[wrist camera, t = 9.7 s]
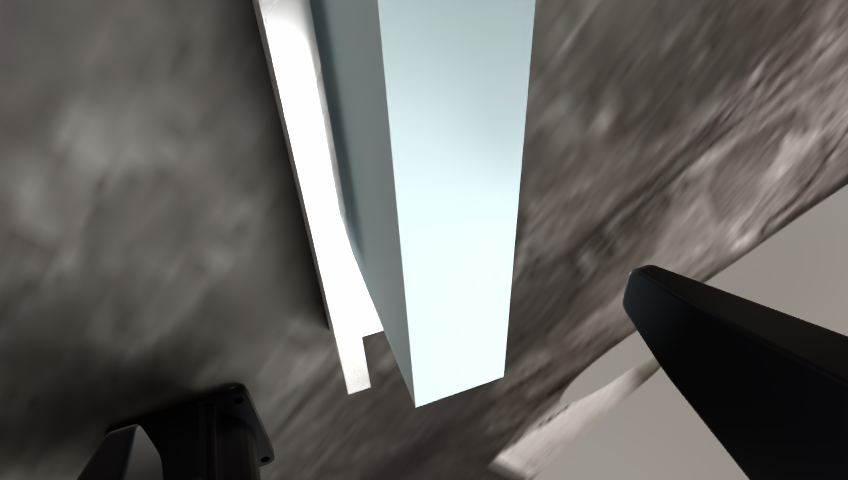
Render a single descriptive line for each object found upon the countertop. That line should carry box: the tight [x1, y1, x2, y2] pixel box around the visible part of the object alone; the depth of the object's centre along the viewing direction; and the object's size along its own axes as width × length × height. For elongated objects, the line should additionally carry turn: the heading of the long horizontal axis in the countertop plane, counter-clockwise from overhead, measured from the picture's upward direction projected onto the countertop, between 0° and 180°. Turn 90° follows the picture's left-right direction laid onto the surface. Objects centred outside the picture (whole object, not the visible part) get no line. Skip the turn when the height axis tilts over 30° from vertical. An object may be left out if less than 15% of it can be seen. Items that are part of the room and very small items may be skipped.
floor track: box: [252, 0, 384, 394], centre depth 16 cm, size 26×6×4 cm, turn 3°
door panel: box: [310, 0, 535, 407], centre depth 14 cm, size 16×3×8 cm, turn 3°
